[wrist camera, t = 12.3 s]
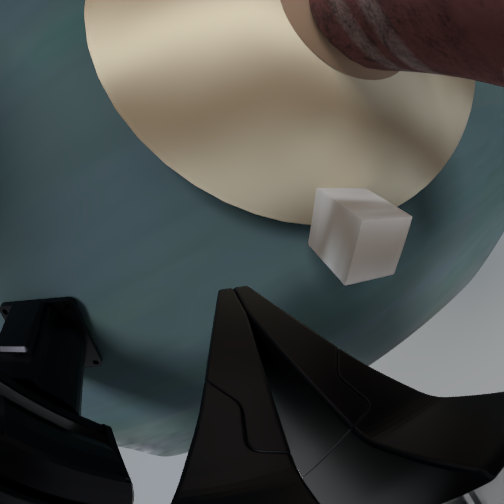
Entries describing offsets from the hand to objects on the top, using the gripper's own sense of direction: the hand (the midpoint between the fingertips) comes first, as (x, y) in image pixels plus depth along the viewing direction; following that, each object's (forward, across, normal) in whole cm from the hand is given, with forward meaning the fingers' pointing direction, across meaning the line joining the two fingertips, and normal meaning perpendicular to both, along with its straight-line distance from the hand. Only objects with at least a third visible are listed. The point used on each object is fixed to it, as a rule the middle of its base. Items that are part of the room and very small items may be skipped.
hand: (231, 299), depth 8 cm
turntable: (+6, -7, -11) cm, 14 cm away
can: (+5, -7, -11) cm, 14 cm away
